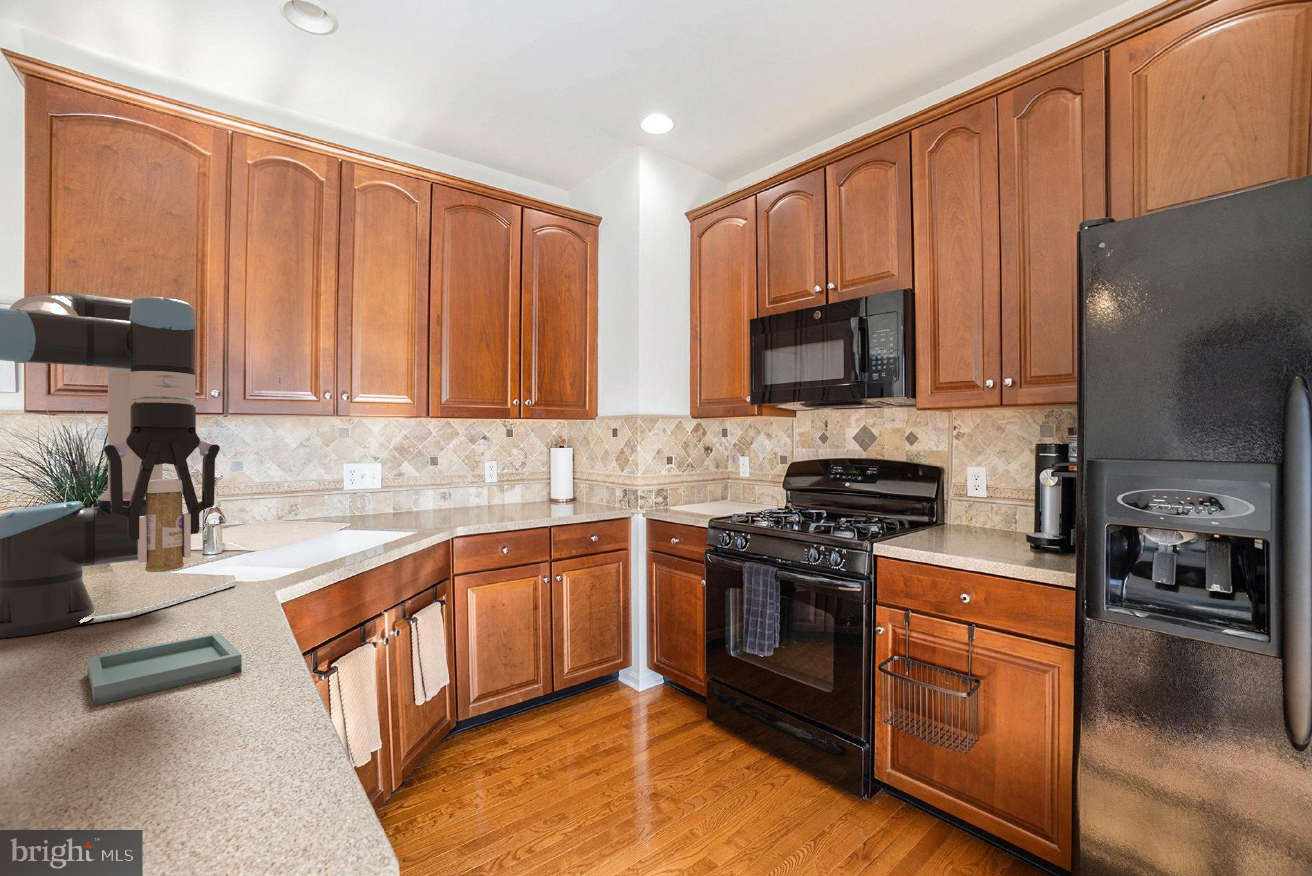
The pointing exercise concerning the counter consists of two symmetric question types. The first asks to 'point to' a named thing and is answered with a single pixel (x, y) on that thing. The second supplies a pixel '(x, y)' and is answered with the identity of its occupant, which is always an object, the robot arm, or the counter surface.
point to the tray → (161, 667)
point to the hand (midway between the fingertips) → (164, 558)
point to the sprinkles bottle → (164, 525)
